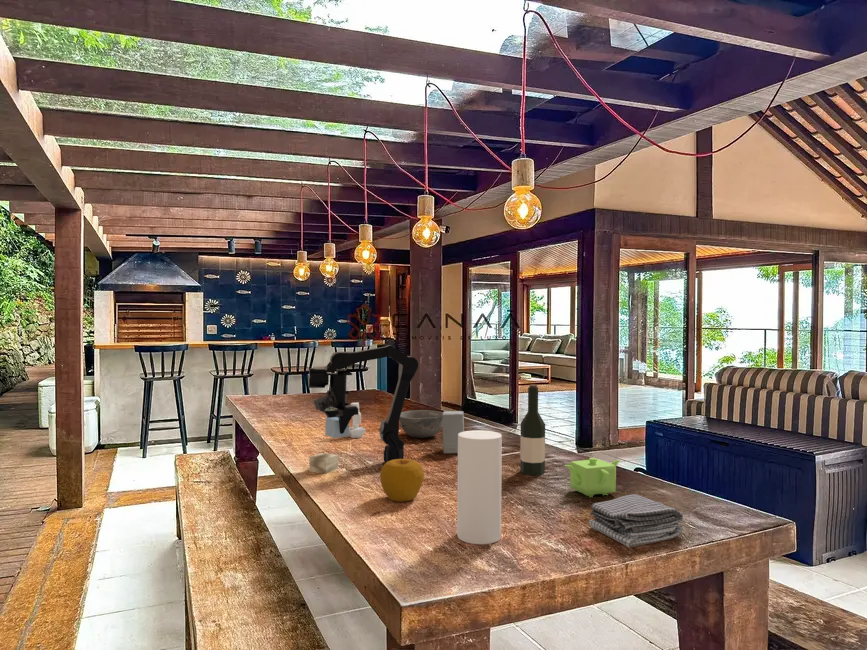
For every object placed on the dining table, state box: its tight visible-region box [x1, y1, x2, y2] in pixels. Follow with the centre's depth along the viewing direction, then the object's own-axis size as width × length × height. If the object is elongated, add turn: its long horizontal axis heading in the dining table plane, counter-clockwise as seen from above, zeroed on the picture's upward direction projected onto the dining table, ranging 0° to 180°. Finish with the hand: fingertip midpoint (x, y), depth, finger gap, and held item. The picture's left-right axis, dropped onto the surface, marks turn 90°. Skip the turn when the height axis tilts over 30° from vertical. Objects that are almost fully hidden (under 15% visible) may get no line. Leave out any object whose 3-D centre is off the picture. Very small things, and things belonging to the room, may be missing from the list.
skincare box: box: [442, 410, 465, 454], centre depth 232 cm, size 8×7×16 cm
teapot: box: [564, 457, 621, 498], centre depth 181 cm, size 15×13×11 cm
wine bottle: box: [519, 384, 546, 476], centre depth 204 cm, size 8×8×30 cm
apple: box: [379, 458, 425, 503], centre depth 174 cm, size 13×13×11 cm
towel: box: [588, 493, 684, 548], centre depth 149 cm, size 15×18×8 cm
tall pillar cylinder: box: [456, 429, 503, 545], centre depth 145 cm, size 11×11×25 cm
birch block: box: [308, 452, 339, 475], centre depth 205 cm, size 7×7×5 cm
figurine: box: [348, 402, 367, 439], centre depth 260 cm, size 7×9×15 cm
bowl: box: [399, 409, 443, 439], centre depth 262 cm, size 21×21×10 cm
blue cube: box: [324, 417, 350, 439], centre depth 209 cm, size 6×6×6 cm
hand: (337, 432), depth 209 cm, fingers closed on blue cube, 6 cm apart
